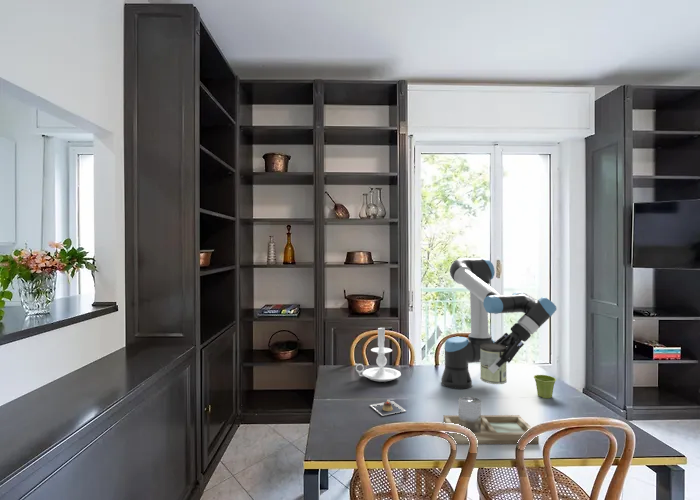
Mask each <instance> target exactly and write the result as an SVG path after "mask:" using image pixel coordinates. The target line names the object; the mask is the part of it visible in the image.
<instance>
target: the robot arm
mask: <svg viewBox="0 0 700 500" xmlns="http://www.w3.org/2000/svg"><path fill="white" fill-rule="evenodd" d="M495 271H496V270H495V267H494V264H493V262H491V260H490V259H488V258H486V257H485V258H484V257H474V258H473V257H468V258H467V257H464V258H463V257H462V258H458V259H456V260H455V261H453V263H451V265H450V268H449V275H450V278H451V279H452V280H453V281H454V282H455V283H457V284H458V285H462V286H463V287H464V288H466V289H467V290H468V291H469V298H470V299H469V301H470V303H469V304H470V333H469V334H468V337H465V336H452V337H449V338H447V339H446V340H445V342H444V370H443V373H442V375H441V382H440V383H441V385H442V386H445V387H447V388H449V389H457V390H464V389H469V388H472V386H473V380H472V377H471V374H470V372H469V371H470V370H469V364H472V363H474V364H475V363H481V361H480V345H481V344H484V343H495V344H501V345H504V346H506V349H505V351H504V353H503V355H502V356H500V357H501V358H500V357H499V358H498V359H497V360H496V361H495V362H494V363H493V364H492V365H491V366H490V367H489V368H488V369H489V370H490V371H491V372H492V373H493V374H494V373H495V372H496V371H497V370H498V369H499V368H500V367H501V366H502V365H503V364H504V363H505V362H506V363H511V362H512V360H513V358H514V357H515V356H516V355H517V353H518V352H519V350H520V349H521V348H522V347H523V346H524V345H525V343H523V342H527V341H528V340H529V339H530V338H531V337H532V336H531V335H534V334H535V333H536V332H537V331H538V330H539V328H541V327H542V326H543V325H544V324H545V323H546V322H547V321H548V320H549V319H550V318H551V317H552V316H553V315H554V313H555V312H556V311H557V306H556V305H555V303H554V302H553V301H551V300H550V298H547V297H545V296H542V297H540V298H538V299H536V298H534V297H532V296H530V295H528V294H527V293H525V292H522V291H516V292H513V293H512V294H508V295H507V294H504V295H503V294H501V293H500V292H498V291H497V290H495V289H494V288H493V287H492V286H490V284H491V280H493V279H494V277H495ZM509 313H511V314H513V313H523V315H522V316H521V317H520V318H519V319H518V320H517V322H516V323H514V324H513V325H512V326H511V327H510V331H511V333H508V332H505V333H504V334H502V336H500V338H498V339H497V340H494V339H493V337H492V334H490V333H489V314H495V315H497V314H509Z"/></svg>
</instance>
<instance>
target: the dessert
mask: <svg viewBox="0 0 700 500" xmlns="http://www.w3.org/2000/svg"><path fill="white" fill-rule="evenodd" d="M393 404H394V405H393ZM377 405H380V406H382V411H384V412H392V411H393V410H394V408H393V406H394V407H396V408H397V407H398V408H397V409H399V410H400V409H401V410H400V411H397V412H392V413H386V414H382V413H381V412H380V411H379V410H378V409H376V408H375V407H378V406H377ZM392 405H393V406H392ZM369 406H370V407H371V408H372V409H373V410H375V412H377V413H378V414H379V415H381V416H382V417H384V416H391V415H394V414H395V413H396V414H400V412H401V413H405V412H407V410H406V409H405V408H403V406H401V405H399V404H398V403H396V402H395V401H393V400H390V399H387V400H386V401H383V402H380V403H379V402H378V403H373V404H369ZM373 406H375V407H373Z"/></svg>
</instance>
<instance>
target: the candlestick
mask: <svg viewBox="0 0 700 500" xmlns="http://www.w3.org/2000/svg"><path fill="white" fill-rule="evenodd" d="M385 334H386V328H385V327H381V326H380V327H378V328H377V346H378V347H373V348H371V349H370V351H371V352H373V353H376V354H377V357H376V361H375V362H376V365H377V367H370V368H367V369H365V366H364V365H363V363H354V365H355V371H356V372H357V373H358V375H359V376H360V377H365V378H368V379H369V380H371V381H374V382H379V383H381V382H384V383H386V382H390V381H394V380H396V379H397V378H399V377H401V375H402V374H401V371H399V370H397V369H395V368H391V367H385V366H386V365H387V363H388V360H387V357H386V356H385V355H386V354H389V353H391V352H393V349H391V348H389V347H385V341H386V339H385V338H386V336H385ZM359 366H361V367H362V369H361V370H358V367H359Z"/></svg>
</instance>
